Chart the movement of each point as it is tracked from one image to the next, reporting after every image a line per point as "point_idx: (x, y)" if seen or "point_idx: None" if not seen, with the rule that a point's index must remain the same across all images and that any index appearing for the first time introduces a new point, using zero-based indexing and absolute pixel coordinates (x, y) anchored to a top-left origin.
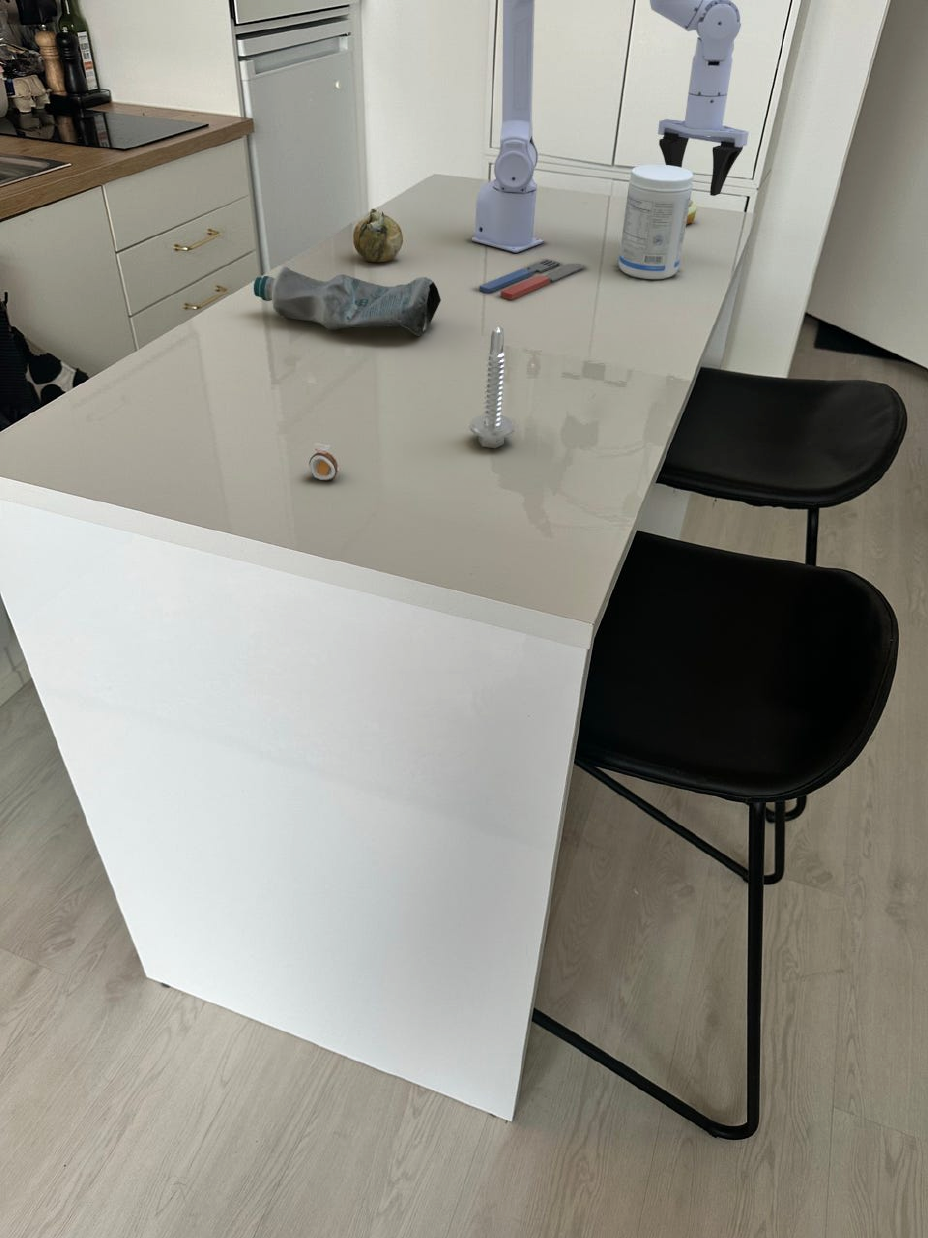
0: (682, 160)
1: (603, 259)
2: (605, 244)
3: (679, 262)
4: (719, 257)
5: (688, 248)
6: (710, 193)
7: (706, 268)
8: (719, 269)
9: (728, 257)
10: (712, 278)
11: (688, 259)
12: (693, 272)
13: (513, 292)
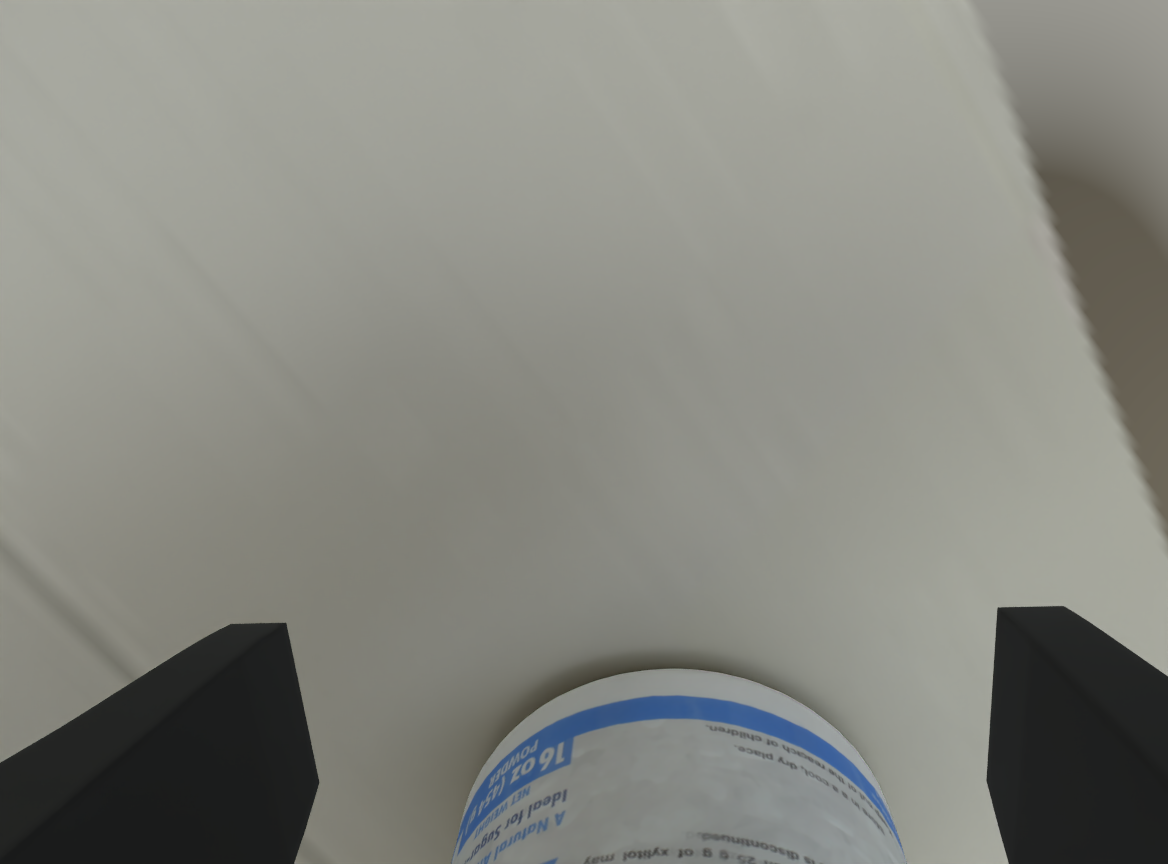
0: (66, 819)
1: (327, 858)
2: (74, 605)
3: (885, 809)
4: (875, 112)
5: (526, 127)
6: (997, 802)
7: (948, 466)
8: (1042, 403)
9: (937, 35)
10: (1104, 623)
11: (715, 393)
12: (923, 620)
13: None
